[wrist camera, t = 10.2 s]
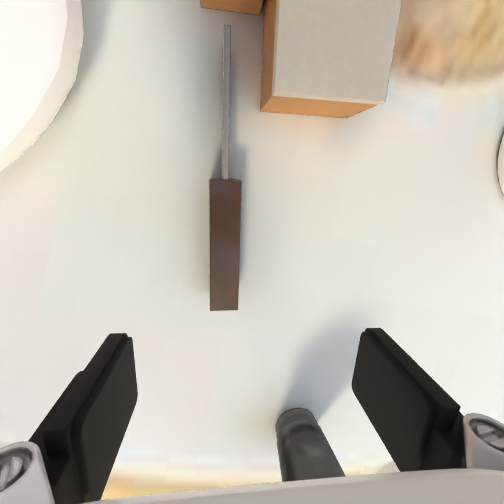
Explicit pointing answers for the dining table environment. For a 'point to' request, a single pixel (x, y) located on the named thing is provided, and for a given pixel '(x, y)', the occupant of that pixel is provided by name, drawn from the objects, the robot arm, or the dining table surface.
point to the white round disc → (35, 68)
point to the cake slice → (234, 5)
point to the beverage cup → (304, 448)
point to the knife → (225, 212)
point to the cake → (327, 55)
